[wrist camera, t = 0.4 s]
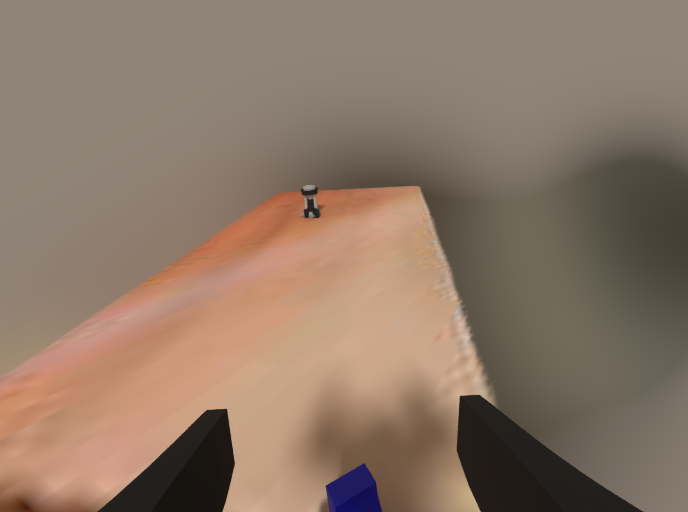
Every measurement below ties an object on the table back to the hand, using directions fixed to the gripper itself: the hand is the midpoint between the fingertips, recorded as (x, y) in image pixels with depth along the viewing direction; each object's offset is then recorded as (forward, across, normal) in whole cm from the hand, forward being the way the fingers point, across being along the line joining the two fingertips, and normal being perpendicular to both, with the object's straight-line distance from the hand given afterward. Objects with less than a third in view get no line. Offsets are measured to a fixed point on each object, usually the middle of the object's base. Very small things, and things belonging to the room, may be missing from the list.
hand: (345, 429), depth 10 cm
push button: (+95, +8, +5) cm, 96 cm away
